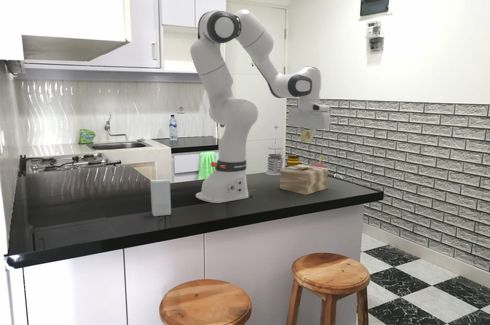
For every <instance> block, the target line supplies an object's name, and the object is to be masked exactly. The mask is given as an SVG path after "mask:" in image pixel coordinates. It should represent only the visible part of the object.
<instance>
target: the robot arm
mask: <svg viewBox="0 0 490 325" xmlns="http://www.w3.org/2000/svg"><path fill="white" fill-rule="evenodd" d="M234 39H235V41H238V43H239V44H240V45H241V46H242V48H243V49H244V51H245V52H246V53H247V54H248V56H249V57H250V59H251V61H252V62H253V64H254V65H255V67H256V69H257V70H258V72H259V73H260V74H261V76H262V77H263V78H264V80H265V82H266V83H267V86H268V88H269V91H270V93H271V95H273V97H275V98H277V99H285V98H289V99H290V98H293V99H294V98H295V99H296V98H298V104H297V105H296V104H295V105H294V104H292V105H291V106H290V107H289V108H288V114H287V120H286V123H287V126H288V127H295V128H296V127H298V131H299V134H300V135H301V131H302V130H305V128H307V129H309V130H310V131H311V133H310V134H309V135H308V139H312V140H313V139H314V135H315V133H316V132H317V130H328V129H329V128H330V127H331V114H330V112H329V111H330V110H331V109H330V108H331V107H330V106H329V105H328V104H325V103H322V102H321V98H320V92H321V89H322V88H321V86H322V75H321V71H320V69H318V68H317V67H314V66H303V67H302V68H301V69H300V70H298V71H296V72H293V73H288V74H285V73H281V72H279V71H278V70H277V68H276V66H275V65H274V64H273V62H272V60H271V59H270V54H271V53H272V50H273V48H274V39H273V37H272V35H271V33H270V32H269V31H268V29H267V27H265V25H264V24H263V23H262V22H261V21H260V19H258V17H257V16H255V14H253V13H252V12H251V11H250V10H248V9H246V8H245V9H243V8H242V9H240V10H239V9H238V11H235V12H234V13H233V14H232V13H231V12H228V11H225V10H217V9H215V10H211V11H207V12H204V13H203V14H202V15H201V16H200V17H199V20H198V23H197V40H196V41H194V43H193V44H192V45H191V46H190V51H189V52H190V56H191V60H192V63H193V65H194V68H195V70H196V72H197V75H198V77H199V79H200V80H201V83H202V85H203V87H204V89H205V91H206V94H207V98H208V100H209V108H208V112H209V113H208V114H209V117H210V119H211V120H212V121H214V122H215V123H217V124H219V125H222V126H224V127H225V129H224V132H223V135H222V136H221V138H220V139H219V140H218V159H217V161H216V162H215V161H211V163H210V167H212V168H214V170H213V171H212V172H211V173H210V174H209V175H208V176H207V177H206V178H205V179H204V180H203V182H202V185H201V191H199V192H197V193H195V198H197V199H198V200H201V201H205V202H208V203H213V204H221V203H226V202H232V201H238V200H244V199H249V196H250V195H249V194H250V193H249V190H248V184H247V183H248V181H247V174H246V169H247V160H246V151H247V150H246V148H247V141H248V140H247V139H248V135H249V133H250V130H251V128H252V127H253V126H254V125H255V124H256V122H257V120H258V117H259V111H258V107H257V105H256V104H254V103H253V102H251V101H249V100H247V99H244V98H243V99H242V98H235V97H234V95H233V90H232V89H233V88H232V86H233V84H234V80H233V77H232V74H231V72H230V70H229V68H228V67H227V64H226V62H225V60H224V58H223V55H222V52H221V44H226V43H228V42H231V41H232V40H234Z"/></svg>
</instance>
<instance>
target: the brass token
mask: <svg viewBox="0 0 490 325" xmlns="http://www.w3.org/2000/svg"><path fill="white" fill-rule="evenodd" d="M310 130H311V129H304V130H302V131H301V134H300V143H312V142H313V139H308V135H309V134H310V133H311V131H310Z"/></svg>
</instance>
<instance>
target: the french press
mask: <svg viewBox="0 0 490 325" xmlns="http://www.w3.org/2000/svg"><path fill="white" fill-rule="evenodd" d="M273 128H274V129H278V128H279V126H278V125H275V126H274V127H273ZM267 149H269V150H274V153H270V154H268V157H267V170H266V172H265V175H268V176H280V173H281V168H283V163H284V161H283V160H284V157H283V155H284V153H283V152H282V151H279V150H283V149H284V147H283V146H282V145H280V144H277V140H275V144H270V145H269V146H268V147H267ZM276 150H278V151H277V152H276Z"/></svg>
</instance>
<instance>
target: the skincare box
mask: <svg viewBox="0 0 490 325" xmlns="http://www.w3.org/2000/svg"><path fill="white" fill-rule="evenodd" d="M149 182H150V198H151V199H150V200H151V214H152V216H153V217H159V216H160V217H161V216H169V215H172V207H171V206H172V205H171V204H172V203H171V181H170V179H169V178H157V179H150V181H149Z"/></svg>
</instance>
